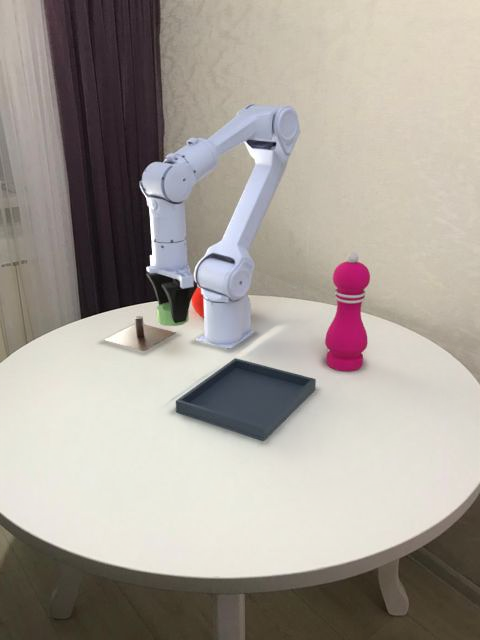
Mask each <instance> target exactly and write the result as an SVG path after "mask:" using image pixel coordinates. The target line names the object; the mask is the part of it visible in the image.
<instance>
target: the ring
mask: <svg viewBox="0 0 480 640" xmlns="http://www.w3.org/2000/svg"><path fill="white" fill-rule="evenodd" d="M189 313H190V310H188V315H187V319H186V321H184V322H179V323H174V321H173V319H172V315H171V309H170V304H169V302H168V303H163V304H161V305H159V304H158V305H157V307H156V321H157V323H158V324H159V325H161V326H165V327H177V326H181V325H185V324H186V323H188V322H189V319H190V314H189Z"/></svg>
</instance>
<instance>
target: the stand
mask: <svg viewBox="0 0 480 640" xmlns="http://www.w3.org/2000/svg"><path fill="white" fill-rule="evenodd" d="M175 334H177V332H176V331H172V330H168V329H163V328H160V327H155V326H151V325H147V324H144V317H143V316H141V315H138V316H135V317H134V324H132V325H130V326H128V327H126V328H124V329H122V330H121V331H118V332H117V333H114V334H112V335H111V336H109V337H106V338H104V339H103V341H106V342H108V343H112V344H115V345H120V346H123V347H127V348H130V349H134V350H136V351H137V350H138V351H141V352H146V351H147V350H149V349H151V348H153V347H154V346H156V345H158V344H160V343H161V342H164V341H165V340H166V339H168V338H170V337H172V336H174V335H175Z"/></svg>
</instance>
